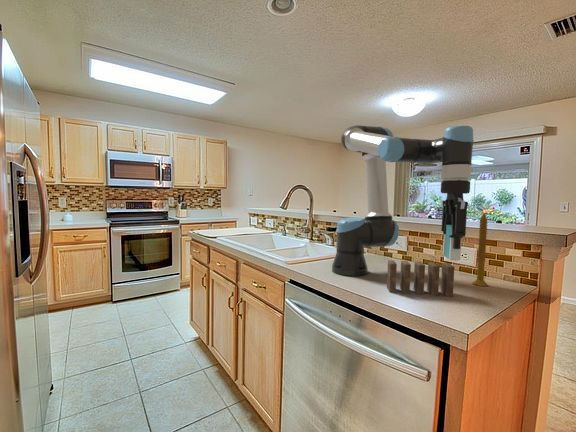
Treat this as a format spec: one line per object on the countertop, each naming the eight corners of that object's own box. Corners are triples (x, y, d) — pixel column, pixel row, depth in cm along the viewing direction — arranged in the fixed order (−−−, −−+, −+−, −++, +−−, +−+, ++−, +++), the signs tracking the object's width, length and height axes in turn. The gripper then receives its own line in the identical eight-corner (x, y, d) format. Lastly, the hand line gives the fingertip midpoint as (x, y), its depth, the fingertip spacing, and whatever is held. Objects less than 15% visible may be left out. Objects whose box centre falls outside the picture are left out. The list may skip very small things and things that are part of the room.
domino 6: (446, 296, 94) (447, 266, 93) (440, 291, 99) (442, 262, 98) (452, 296, 93) (454, 266, 93) (446, 291, 99) (448, 263, 98)
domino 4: (431, 295, 95) (433, 265, 94) (426, 290, 100) (428, 262, 99) (438, 295, 94) (439, 266, 94) (433, 290, 99) (434, 262, 99)
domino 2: (403, 293, 96) (404, 264, 96) (400, 288, 101) (401, 260, 101) (409, 293, 96) (410, 264, 95) (405, 288, 101) (407, 261, 100)
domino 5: (450, 260, 83) (452, 226, 83) (444, 256, 89) (446, 224, 88) (457, 260, 83) (459, 226, 82) (451, 256, 88) (453, 224, 87)
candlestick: (475, 281, 111) (490, 285, 106) (469, 283, 108) (484, 287, 104) (479, 211, 109) (494, 212, 105) (473, 212, 106) (489, 212, 102)
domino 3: (417, 294, 95) (418, 265, 95) (413, 289, 101) (414, 261, 100) (423, 294, 95) (425, 265, 94) (419, 289, 100) (420, 261, 99)
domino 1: (389, 292, 97) (390, 263, 96) (386, 287, 102) (387, 260, 101) (395, 292, 97) (396, 263, 96) (392, 287, 102) (393, 260, 101)
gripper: (484, 178, 74) (478, 265, 76) (457, 181, 92) (453, 252, 94) (452, 178, 76) (447, 263, 78) (432, 181, 94) (429, 251, 95)
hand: (451, 257), depth 86 cm, fingers closed on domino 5, 5 cm apart
